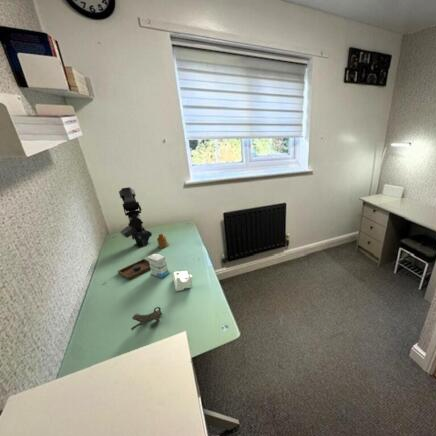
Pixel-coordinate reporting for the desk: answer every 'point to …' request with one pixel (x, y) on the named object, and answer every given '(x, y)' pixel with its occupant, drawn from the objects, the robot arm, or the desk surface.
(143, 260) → the tray
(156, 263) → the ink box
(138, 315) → the dog figurine
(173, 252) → the desk surface
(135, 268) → the cap
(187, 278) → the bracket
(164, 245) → the bottle
